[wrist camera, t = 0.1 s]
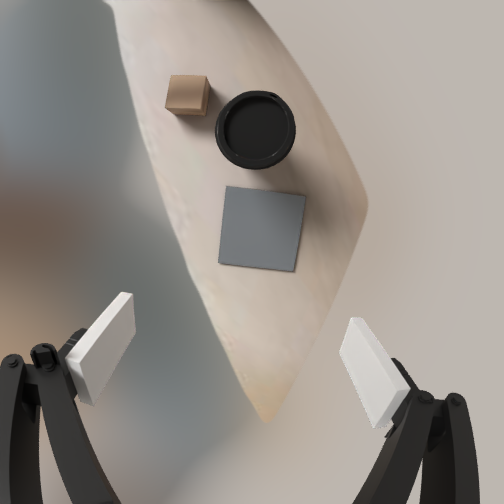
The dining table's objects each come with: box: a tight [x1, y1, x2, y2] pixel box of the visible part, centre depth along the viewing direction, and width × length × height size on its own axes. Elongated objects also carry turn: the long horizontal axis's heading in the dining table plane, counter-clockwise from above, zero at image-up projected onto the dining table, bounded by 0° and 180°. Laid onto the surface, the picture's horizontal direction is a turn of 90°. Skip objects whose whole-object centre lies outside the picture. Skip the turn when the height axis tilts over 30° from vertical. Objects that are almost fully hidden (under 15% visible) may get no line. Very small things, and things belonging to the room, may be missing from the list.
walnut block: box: [165, 75, 210, 116], centre depth 34 cm, size 5×5×5 cm
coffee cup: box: [215, 91, 296, 170], centre depth 31 cm, size 8×8×15 cm
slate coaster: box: [218, 186, 306, 271], centre depth 42 cm, size 12×12×1 cm
